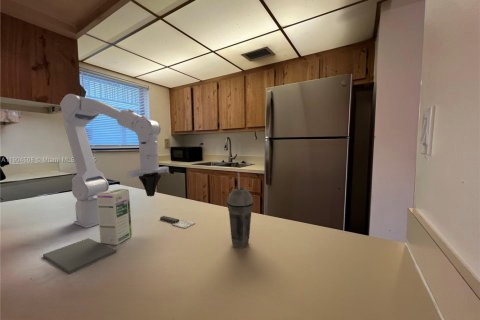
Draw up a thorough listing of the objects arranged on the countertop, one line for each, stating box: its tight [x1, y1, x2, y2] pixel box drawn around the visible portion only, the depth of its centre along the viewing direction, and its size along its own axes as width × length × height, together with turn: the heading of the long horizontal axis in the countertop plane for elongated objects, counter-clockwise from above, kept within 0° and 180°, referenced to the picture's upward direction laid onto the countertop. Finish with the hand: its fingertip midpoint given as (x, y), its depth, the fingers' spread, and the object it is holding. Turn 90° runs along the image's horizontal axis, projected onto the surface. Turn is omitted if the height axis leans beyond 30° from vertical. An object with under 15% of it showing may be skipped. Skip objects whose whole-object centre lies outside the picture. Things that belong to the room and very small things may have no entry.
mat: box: [42, 237, 117, 274], centre depth 52 cm, size 14×10×1 cm
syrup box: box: [97, 188, 133, 246], centre depth 59 cm, size 6×6×14 cm
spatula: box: [159, 215, 196, 229], centre depth 73 cm, size 14×5×1 cm, turn 61°
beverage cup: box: [226, 172, 254, 249], centre depth 56 cm, size 7×7×20 cm
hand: (150, 195), depth 69 cm, fingers closed
